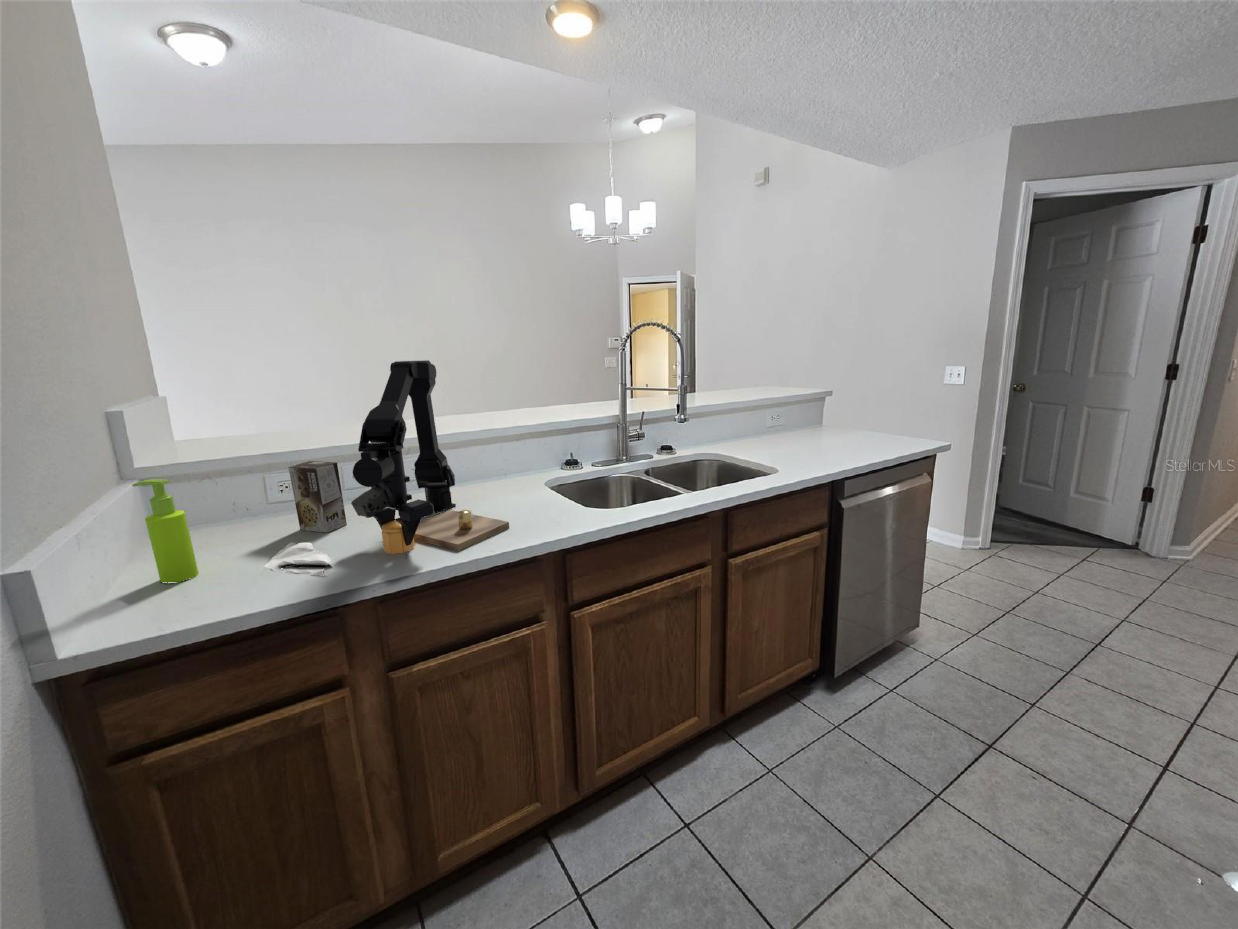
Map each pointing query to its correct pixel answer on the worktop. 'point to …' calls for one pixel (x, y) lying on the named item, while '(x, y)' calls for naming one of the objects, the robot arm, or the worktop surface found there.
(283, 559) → the cloth
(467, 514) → the post
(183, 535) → the soap dispenser
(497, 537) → the worktop surface
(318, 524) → the coffee box
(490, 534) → the wooden board
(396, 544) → the cap
